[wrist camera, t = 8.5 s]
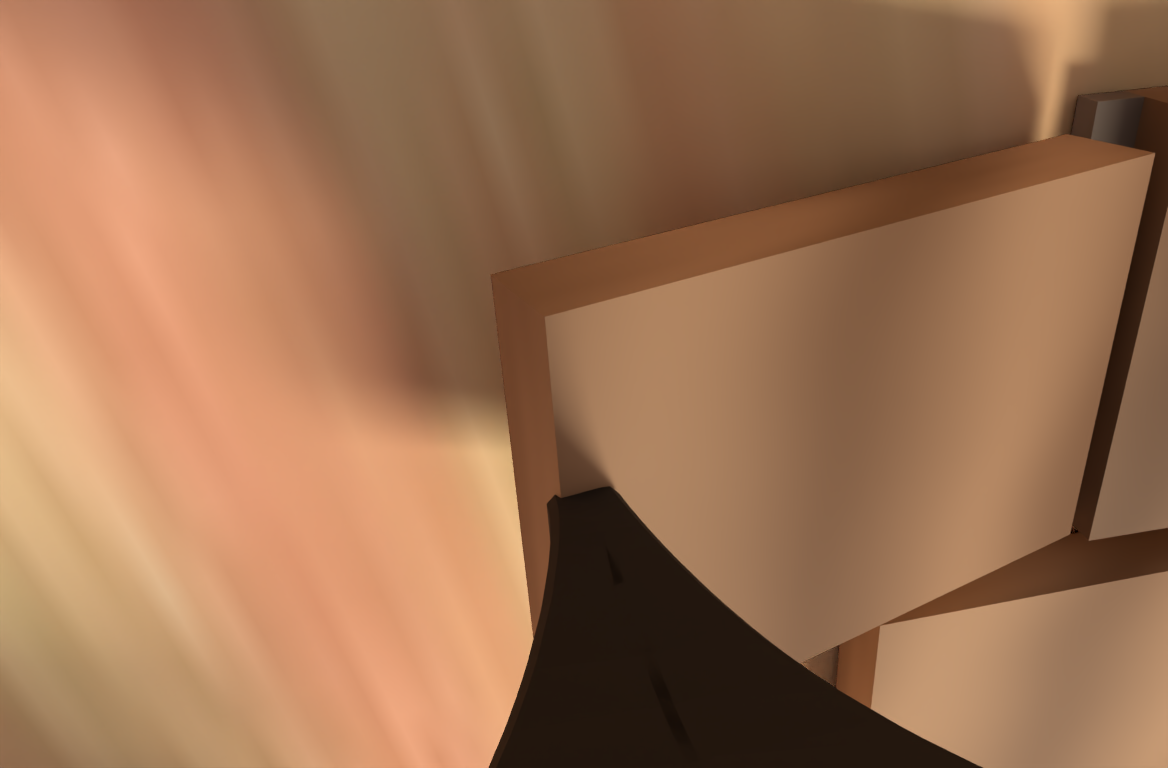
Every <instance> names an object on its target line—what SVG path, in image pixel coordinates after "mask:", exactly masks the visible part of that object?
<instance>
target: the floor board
mask: <svg viewBox="0 0 1168 768" xmlns="http://www.w3.org/2000/svg"><path fill="white" fill-rule="evenodd" d="M1071 135H1074V136H1079V137H1083V138H1088V139H1093V140H1097V141H1102V142H1107V143H1111V144H1116V145H1121V146H1125V147H1130V148H1135V149H1139V150H1144V151H1149V152H1153V153H1155V157H1154V161H1153V166H1152V170H1151V175H1150V179H1149V184H1148V188H1147V193H1146V197H1145V202H1144V206H1143V210H1142V215H1141V219H1140V224H1139V228H1138V233H1137V237H1136V242H1135V246H1134V251H1133V255H1132V260H1131V264H1130V269H1129V273H1128V277H1127V282H1126V286H1125V291H1124V295H1123V300H1122V304H1121V309H1120V313H1119V318H1118V322H1117V327H1116V331H1115V335H1114V340H1113V344H1112V349H1111V353H1110V358H1109V362H1108V367H1107V371H1106V376H1105V380H1104V385H1103V389H1102V393H1101V398H1100V402H1099V407H1098V411H1097V416H1096V420H1095V425H1094V429H1093V434H1092V438H1091V443H1090V447H1089V451H1088V456H1087V460H1086V465H1085V469H1084V474H1083V478H1082V483H1081V487H1080V492H1079V496H1078V501H1077V505H1076V509H1075V514H1074V518H1073V523H1072V525H1073V526H1074V527H1075V528H1076V529H1077V530H1078V531H1079V532H1080V533H1081V534H1082V535H1083V536H1084V537H1085V538H1086V539H1087V540H1088V541H1091V540H1097V539H1103V538H1109V537H1115V536H1121V535H1127V534H1133V533H1139V532H1145V531H1151V530H1157V529H1163V528H1168V86H1163V87H1154V88H1144V89H1135V90H1126V91H1116V92H1107V93H1097V94H1088V95H1079V96H1078V99H1077V105H1076V110H1075V116H1074V122H1073V127H1072V133H1071Z"/></svg>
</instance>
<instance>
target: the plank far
mask: <svg viewBox="0 0 1168 768" xmlns="http://www.w3.org/2000/svg"><path fill="white" fill-rule="evenodd" d="M836 688H837V689H838V690H840V691H841V692H843V693H845V694H846V695H848V696H850V697H851V698H853V699H855V700H857V701H858V702H860V703H862V704H863V705H865V706H867V707H869V708H870V709H872V710H874V711H875V712H877V713H879V714H881V715H882V716H884V717H886V718H887V719H889V720H891V721H893V722H894V723H896V724H898V725H899V726H901V727H903V728H905V729H907V730H909V731H911V732H912V733H914V734H916V735H918V736H920V737H922V738H924V739H926V740H928V741H930V742H932V743H934V744H936V745H938V746H940V747H942V748H944V749H946V750H948V751H950V752H952V753H954V754H956V755H958V756H960V757H962V758H964V759H966V760H968V761H970V762H972V763H974V764H976V765H979V766H981V767H983V768H1168V528H1163V529H1157V530H1151V531H1145V532H1139V533H1133V534H1127V535H1121V536H1115V537H1109V538H1103V539H1097V540H1091V541H1088V540H1087V539H1086V538H1085V537H1084V536H1083V535H1082V534H1081V533H1074V534H1070V535H1068V536H1066V537H1063V538H1061V539H1059V540H1057V541H1055V542H1053V543H1051V544H1049V545H1047V546H1045V547H1043V548H1040V549H1038V550H1036V551H1034V552H1032V553H1030V554H1028V555H1026V556H1024V557H1022V558H1020V559H1017V560H1015V561H1013V562H1011V563H1009V564H1007V565H1005V566H1003V567H1001V568H999V569H997V570H994V571H992V572H990V573H988V574H986V575H984V576H982V577H980V578H978V579H976V580H974V581H971V582H969V583H967V584H965V585H963V586H961V587H959V588H957V589H955V590H953V591H951V592H948V593H946V594H944V595H942V596H940V597H938V598H936V599H934V600H932V601H930V602H928V603H925V604H923V605H921V606H919V607H917V608H915V609H913V610H911V611H909V612H907V613H905V614H902V615H900V616H898V617H896V618H894V619H892V620H890V621H888V622H886V623H884V624H882V625H879V626H877V627H875V628H873V629H871V630H869V631H867V632H865V633H863V634H861V635H859V636H856V637H854V638H852V639H850V640H848V641H846V642H844V643H842V644H840V647H839V659H838V670H837V682H836Z"/></svg>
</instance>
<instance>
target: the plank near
mask: <svg viewBox="0 0 1168 768" xmlns="http://www.w3.org/2000/svg"><path fill="white" fill-rule="evenodd" d="M1154 157H1155V153H1153V152H1149V151H1144V150H1139V149H1135V148H1130V147H1125V146H1121V145H1116V144H1111V143H1107V142H1102V141H1097V140H1093V139H1088V138H1083V137H1079V136H1074V135H1069V134H1065V135H1061V136H1057V137H1053V138H1049V139H1045V140H1041V141H1037V142H1033V143H1028V144H1024V145H1020V146H1016V147H1012V148H1008V149H1004V150H1000V151H996V152H991V153H987V154H983V155H979V156H975V157H971V158H967V159H963V160H959V161H955V162H950V163H946V164H942V165H938V166H934V167H930V168H926V169H922V170H918V171H914V172H909V173H905V174H901V175H897V176H893V177H889V178H885V179H881V180H877V181H873V182H868V183H864V184H860V185H856V186H852V187H848V188H844V189H840V190H836V191H831V192H827V193H823V194H819V195H815V196H811V197H807V198H803V199H799V200H795V201H790V202H786V203H782V204H778V205H774V206H770V207H766V208H762V209H758V210H754V211H749V212H745V213H741V214H737V215H733V216H729V217H725V218H721V219H717V220H713V221H708V222H704V223H700V224H696V225H692V226H688V227H684V228H680V229H676V230H671V231H667V232H663V233H659V234H655V235H651V236H647V237H643V238H639V239H635V240H630V241H626V242H622V243H618V244H614V245H610V246H606V247H602V248H598V249H594V250H589V251H585V252H581V253H577V254H573V255H569V256H565V257H561V258H557V259H553V260H548V261H544V262H540V263H536V264H532V265H528V266H524V267H520V268H516V269H512V270H507V271H503V272H499V273H495V274H491V280H492V288H493V297H494V305H495V314H496V322H497V331H498V339H499V348H500V356H501V365H502V374H503V382H504V391H505V399H506V408H507V416H508V425H509V433H510V442H511V450H512V459H513V467H514V476H515V485H516V493H517V502H518V510H519V519H520V527H521V536H522V544H523V553H524V561H525V570H526V578H527V587H528V596H529V604H530V613H531V621H532V630H533V638H534V636H535V632H536V628H537V624H538V620H539V616H540V611H541V607H542V601H543V595H544V589H545V583H546V577H547V570H548V563H549V551H550V534H549V524H548V514H547V503H548V502H549V500H550V499H551V498H552V497H553V496H554V495H557V496H558V497H560V498H563V497H567V496H571V495H575V494H578V493H582V492H586V491H589V490H593V489H597V488H602V487H608V486H610V487H612V488H613V489H614V490H616V491H617V492H618V493H619V494H620V495H621V496H622V498H623V499H624V500H625V501H626V503H627V504H628V505H629V506H630V507H631V509H632V510H633V511H634V512H635V513H636V515H637V516H638V517H639V518H640V519H641V520H642V522H643V523H644V524H645V525H646V526H647V527H648V528H649V530H650V531H651V532H652V533H653V534H654V535H655V536H656V537H657V538H658V539H659V540H660V541H661V543H662V544H663V545H664V546H665V547H666V548H667V549H668V550H669V551H670V552H671V553H672V554H673V555H674V556H675V557H676V558H677V559H678V560H679V561H680V562H681V563H682V564H683V565H684V566H685V567H686V568H687V569H688V570H689V571H690V572H691V573H692V574H693V575H694V576H695V577H696V578H697V579H698V580H699V581H700V582H701V583H702V584H704V585H705V586H706V587H707V588H708V589H709V590H710V591H711V592H712V593H713V594H714V595H715V596H717V597H718V598H719V599H720V600H721V601H722V602H723V603H724V604H725V605H727V606H728V607H729V608H730V609H731V610H732V611H734V612H735V613H736V614H737V615H738V616H739V617H741V618H742V619H743V620H744V621H745V622H747V623H748V624H749V625H750V626H751V627H752V628H754V629H755V630H756V631H757V632H759V633H760V634H761V635H762V636H764V637H765V638H766V639H767V640H769V641H770V642H771V643H773V644H774V645H775V646H777V647H778V648H779V649H780V650H782V651H783V652H784V653H786V654H787V655H789V656H790V657H791V658H793V659H794V660H796V661H797V662H798V663H802V662H804V661H806V660H808V659H810V658H813V657H815V656H817V655H819V654H821V653H823V652H825V651H827V650H829V649H831V648H833V647H836V646H838V645H840V644H842V643H844V642H846V641H848V640H850V639H852V638H854V637H856V636H859V635H861V634H863V633H865V632H867V631H869V630H871V629H873V628H875V627H877V626H879V625H882V624H884V623H886V622H888V621H890V620H892V619H894V618H896V617H898V616H900V615H902V614H905V613H907V612H909V611H911V610H913V609H915V608H917V607H919V606H921V605H923V604H925V603H928V602H930V601H932V600H934V599H936V598H938V597H940V596H942V595H944V594H946V593H948V592H951V591H953V590H955V589H957V588H959V587H961V586H963V585H965V584H967V583H969V582H971V581H974V580H976V579H978V578H980V577H982V576H984V575H986V574H988V573H990V572H992V571H994V570H997V569H999V568H1001V567H1003V566H1005V565H1007V564H1009V563H1011V562H1013V561H1015V560H1017V559H1020V558H1022V557H1024V556H1026V555H1028V554H1030V553H1032V552H1034V551H1036V550H1038V549H1040V548H1043V547H1045V546H1047V545H1049V544H1051V543H1053V542H1055V541H1057V540H1059V539H1061V538H1063V537H1066V536H1068V535H1070V532H1071V527H1072V523H1073V518H1074V514H1075V509H1076V505H1077V501H1078V496H1079V492H1080V487H1081V483H1082V478H1083V474H1084V469H1085V465H1086V460H1087V456H1088V451H1089V447H1090V443H1091V438H1092V434H1093V429H1094V425H1095V420H1096V416H1097V411H1098V407H1099V402H1100V398H1101V393H1102V389H1103V385H1104V380H1105V376H1106V371H1107V367H1108V362H1109V358H1110V353H1111V349H1112V344H1113V340H1114V335H1115V331H1116V327H1117V322H1118V318H1119V313H1120V309H1121V304H1122V300H1123V295H1124V291H1125V286H1126V282H1127V277H1128V273H1129V269H1130V264H1131V260H1132V255H1133V251H1134V246H1135V242H1136V237H1137V233H1138V228H1139V224H1140V219H1141V215H1142V210H1143V206H1144V202H1145V197H1146V193H1147V188H1148V184H1149V179H1150V175H1151V170H1152V166H1153V161H1154Z"/></svg>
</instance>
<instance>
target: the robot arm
mask: <svg viewBox="0 0 1168 768" xmlns="http://www.w3.org/2000/svg"><path fill="white" fill-rule="evenodd" d="M547 514H548V524H549V534H550V551H549V563H548V570H547V577H546V583H545V589H544V595H543V601H542V607H541V611H540V616H539V620H538V624H537V628H536V632H535V636H534V640H533V643H532V647H531V651H530V655H529V659H528V663H527V666H526V669H525V672H524V676H523V679H522V682H521V685H520V688H519V691H518V694H517V697H516V700H515V703H514V705H513V708H512V711H511V714H510V717H509V719H508V722H507V725H506V727H505V730H504V732H503V735H502V737H501V739H500V742H499V744H498V747H497V749H496V751H495V754H494V756H493V759H492V761H491V763H490V766H489V768H983V767H981V766H979V765H976V764H974V763H972V762H970V761H968V760H966V759H964V758H962V757H960V756H958V755H956V754H954V753H952V752H950V751H948V750H946V749H944V748H942V747H940V746H938V745H936V744H934V743H932V742H930V741H928V740H926V739H924V738H922V737H920V736H918V735H916V734H914V733H912V732H911V731H909V730H907V729H905V728H903V727H901V726H899V725H898V724H896V723H894V722H893V721H891V720H889V719H887V718H886V717H884V716H882V715H881V714H879V713H877V712H875V711H874V710H872V709H870V708H869V707H867V706H865V705H863V704H862V703H860V702H858V701H857V700H855V699H853V698H851V697H850V696H848V695H846V694H845V693H843V692H841V691H840V690H838V689H837V688H835V687H834V686H832V685H830V684H829V683H827V682H826V681H824V680H823V679H821V678H820V677H818V676H817V675H815V674H814V673H812V672H811V671H810V670H808V669H807V668H805V667H804V666H803V665H801V664H800V663H798V662H797V661H796V660H794V659H793V658H791V657H790V656H789V655H787V654H786V653H784V652H783V651H782V650H780V649H779V648H778V647H777V646H775V645H774V644H773V643H771V642H770V641H769V640H767V639H766V638H765V637H764V636H762V635H761V634H760V633H759V632H757V631H756V630H755V629H754V628H752V627H751V626H750V625H749V624H748V623H747V622H745V621H744V620H743V619H742V618H741V617H739V616H738V615H737V614H736V613H735V612H734V611H732V610H731V609H730V608H729V607H728V606H727V605H725V604H724V603H723V602H722V601H721V600H720V599H719V598H718V597H717V596H715V595H714V594H713V593H712V592H711V591H710V590H709V589H708V588H707V587H706V586H705V585H704V584H702V583H701V582H700V581H699V580H698V579H697V578H696V577H695V576H694V575H693V574H692V573H691V572H690V571H689V570H688V569H687V568H686V567H685V566H684V565H683V564H682V563H681V562H680V561H679V560H678V559H677V558H676V557H675V556H674V555H673V554H672V553H671V552H670V551H669V550H668V549H667V548H666V547H665V546H664V545H663V544H662V543H661V541H660V540H659V539H658V538H657V537H656V536H655V535H654V534H653V533H652V532H651V531H650V530H649V528H648V527H647V526H646V525H645V524H644V523H643V522H642V520H641V519H640V518H639V517H638V516H637V515H636V513H635V512H634V511H633V510H632V509H631V507H630V506H629V505H628V504H627V503H626V501H625V500H624V499H623V498H622V496H621V495H620V494H619V493H618V492H617V491H616V490H614V489H613V488H612V487H610V486H608V487H602V488H597V489H593V490H589V491H586V492H582V493H578V494H575V495H571V496H567V497H563V498H560V497H558V496H557V495H554V496H553V497H552V498H551V499H550V500H549V502H548V503H547Z"/></svg>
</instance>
